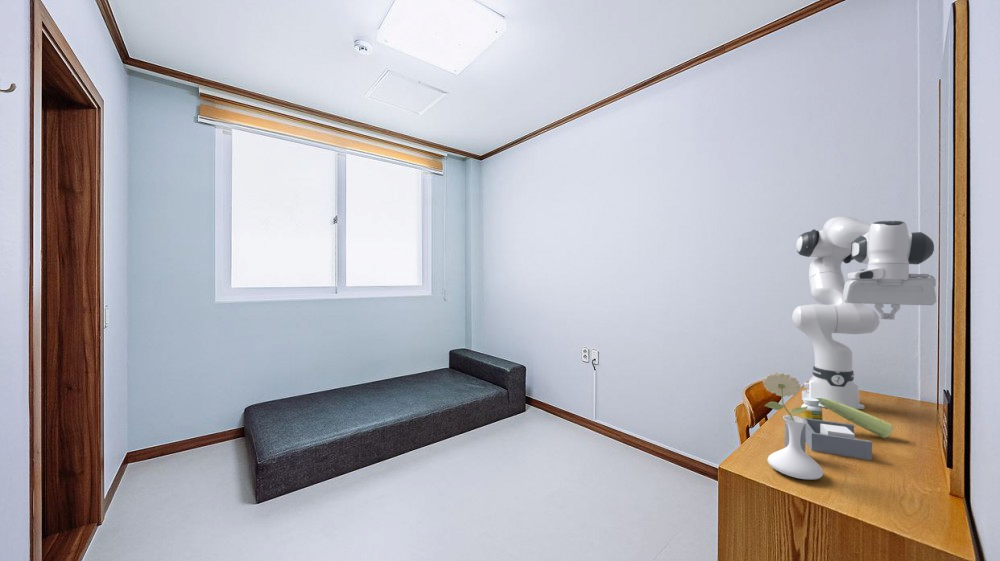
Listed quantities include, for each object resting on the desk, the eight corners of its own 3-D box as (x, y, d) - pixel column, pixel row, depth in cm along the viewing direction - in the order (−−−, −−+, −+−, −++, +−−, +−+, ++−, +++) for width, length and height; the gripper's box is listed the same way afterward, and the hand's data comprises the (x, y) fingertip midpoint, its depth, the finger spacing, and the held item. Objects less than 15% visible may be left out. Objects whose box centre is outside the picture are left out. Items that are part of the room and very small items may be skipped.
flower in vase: (830, 475, 96) (831, 376, 96) (814, 490, 90) (816, 384, 90) (770, 455, 107) (771, 366, 107) (752, 467, 100) (753, 372, 100)
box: (799, 432, 123) (799, 417, 122) (852, 440, 117) (852, 424, 117) (811, 450, 110) (811, 433, 110) (871, 460, 104) (871, 442, 104)
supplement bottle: (811, 424, 129) (810, 396, 129) (827, 430, 124) (826, 400, 124) (797, 425, 128) (796, 397, 128) (812, 432, 123) (811, 402, 123)
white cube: (845, 447, 113) (846, 426, 113) (854, 455, 107) (855, 434, 107) (820, 443, 115) (820, 423, 115) (827, 451, 110) (827, 430, 110)
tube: (893, 419, 118) (820, 387, 126) (895, 432, 115) (820, 397, 122) (881, 429, 122) (810, 397, 129) (882, 441, 118) (810, 407, 126)
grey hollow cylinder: (786, 450, 110) (786, 414, 110) (806, 455, 107) (806, 419, 107) (783, 455, 107) (783, 419, 107) (803, 461, 104) (804, 423, 104)
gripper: (929, 273, 114) (928, 320, 115) (841, 273, 124) (840, 316, 124) (941, 273, 109) (941, 322, 109) (848, 273, 118) (847, 318, 118)
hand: (886, 319), depth 116 cm, fingers closed
